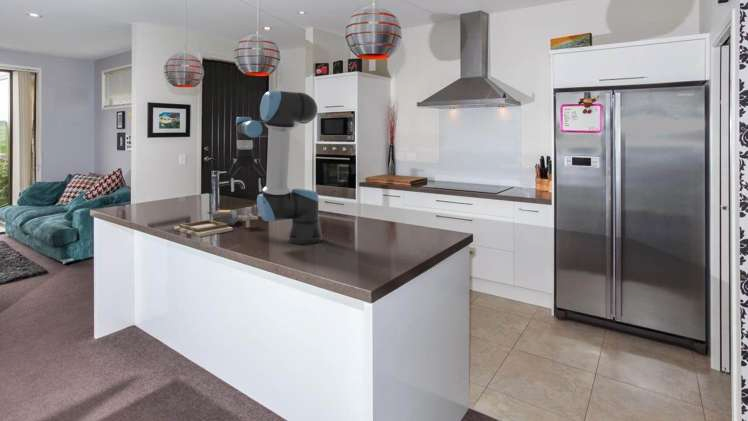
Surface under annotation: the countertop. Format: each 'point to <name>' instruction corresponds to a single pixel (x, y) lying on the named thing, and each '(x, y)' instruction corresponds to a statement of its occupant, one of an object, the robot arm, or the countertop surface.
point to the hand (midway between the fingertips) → (246, 191)
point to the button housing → (226, 217)
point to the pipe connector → (248, 217)
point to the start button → (224, 211)
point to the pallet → (203, 228)
